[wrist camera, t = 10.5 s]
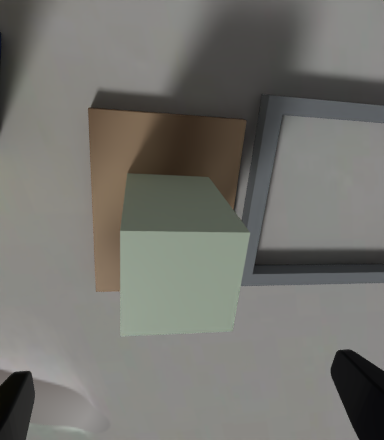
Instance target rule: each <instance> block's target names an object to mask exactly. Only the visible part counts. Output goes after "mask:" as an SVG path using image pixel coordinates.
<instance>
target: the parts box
mask: <svg viewBox="0 0 384 440" xmlns="http://www.w3.org/2000/svg"><path fill="white" fill-rule="evenodd" d="M249 237H250V232H249V230H248V229H247V228H246V226H245V225H244V224H243V222H242V221H241V220H240V218H239V217H238V216H237V214H236V213H235V212H234V210H233V209H232V207H231V206H230V205H229V203H228V202H227V201H226V199H225V198H224V197H223V195H222V194H221V193H220V191H219V190H218V189H217V187H216V186H215V185H214V183H213V182H212V181H211V179H210V178H209V177H198V176H176V175H154V174H132V173H127V179H126V187H125V195H124V204H123V212H122V220H121V228H120V336H142V335H164V334H186V333H208V332H230V331H233V326H234V320H235V315H236V309H237V304H238V298H239V293H240V287H241V281H242V276H243V270H244V265H245V259H246V254H247V248H248V242H249Z"/></svg>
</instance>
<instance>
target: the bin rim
mask: <svg viewBox="0 0 384 440" xmlns="http://www.w3.org/2000/svg"><path fill="white" fill-rule="evenodd" d="M282 115H290V116H302V117H315V118H327V119H339V120H352V121H364V122H376V123H384V106H383V105H372V104H361V103H350V102H339V101H328V100H318V99H307V98H296V97H285V96H274V95H263V94H262V98H261V104H260V110H259V117H258V123H257V129H256V135H255V142H254V148H253V154H252V160H251V166H250V173H249V179H248V185H247V191H246V198H245V204H244V210H243V216H242V222H243V224H244V225H245V226H246V228H247V229H248V230H249V232H250V237H249V242H248V248H247V254H246V259H245V265H244V270H243V276H242V281H241V286H264V285H309V284H354V283H384V264H343V265H254V264H255V258H256V253H257V248H258V242H259V237H260V232H261V227H262V221H263V216H264V211H265V205H266V200H267V195H268V189H269V184H270V179H271V174H272V168H273V163H274V158H275V152H276V147H277V142H278V137H279V131H280V126H281V121H282Z"/></svg>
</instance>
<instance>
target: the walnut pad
mask: <svg viewBox="0 0 384 440" xmlns="http://www.w3.org/2000/svg"><path fill="white" fill-rule="evenodd" d="M88 115H89V139H90V162H91V186H92V209H93V233H94V256H95V280H96V292H109V291H120V228H121V220H122V212H123V204H124V195H125V187H126V179H127V173H132V174H154V175H176V176H198V177H209V178H210V179H211V181H212V182H213V183H214V185H215V186H216V187H217V189H218V190H219V191H220V193H221V194H222V195H223V197H224V198H225V199H226V201H227V202H228V203H229V205H230V206H231V207H232V209H233V210H234V203H235V196H236V189H237V183H238V176H239V169H240V162H241V155H242V149H243V142H244V135H245V128H246V120H244V119H234V118H221V117H208V116H195V115H182V114H169V113H156V112H143V111H130V110H117V109H104V108H91V107H90V108H88Z"/></svg>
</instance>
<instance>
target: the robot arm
mask: <svg viewBox="0 0 384 440" xmlns="http://www.w3.org/2000/svg"><path fill="white" fill-rule="evenodd" d="M331 376H332V379H333V381H334V384H335V386H336V389H337V391H338V393H339V396H340V398H341V400H342V403H343V405H344V408H345V410H346V412H347V415H348V417H349V419H350V422H351V424H352V426H353V428H354V430H355V432H356V434H357V436H358V438H359V440H384V371H383V370H382V369H380V368H378V367H377V366H375V365H374V364H372V363H371V362H369V361H368V360H366V359H365V358H363V357H362V356H360V355H359V354H357V353H356V352H354V351H352V350H349V349H347V350H338V351H337V352H336V355H335V357H334V360H333V363H332V366H331ZM34 398H35V391H34V384H33V378H32V373H31V372H30V371H19V372H14V373H13V374H11V375H10V376H9V377H8V378H7V379H6V380H5V381H4V382H3V384H1V385H0V440H26V436H27V431H28V427H29V422H30V417H31V413H32V409H33V404H34Z"/></svg>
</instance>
